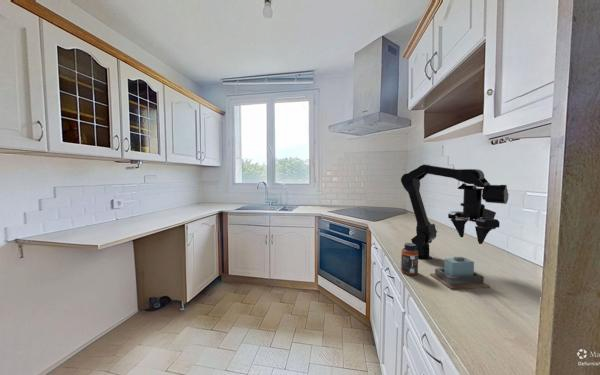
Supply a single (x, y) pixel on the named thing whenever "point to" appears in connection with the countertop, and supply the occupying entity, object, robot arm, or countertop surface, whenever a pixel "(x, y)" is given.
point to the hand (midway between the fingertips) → (470, 240)
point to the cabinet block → (458, 267)
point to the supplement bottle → (409, 259)
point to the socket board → (459, 280)
